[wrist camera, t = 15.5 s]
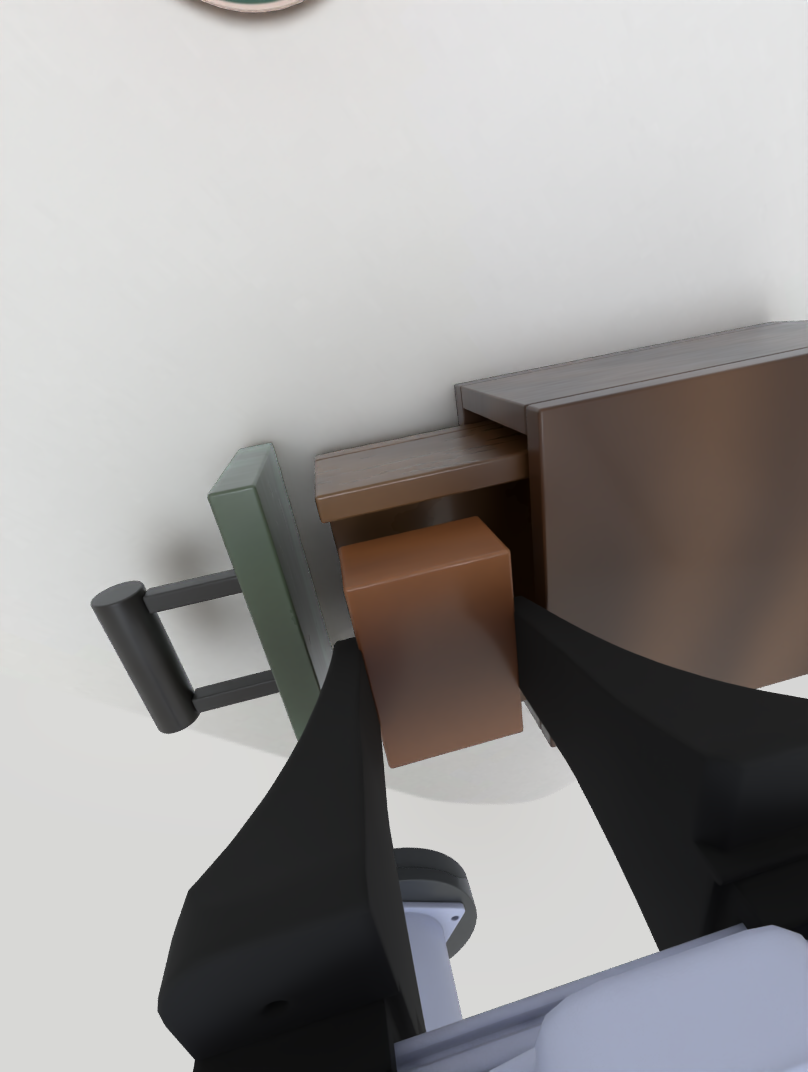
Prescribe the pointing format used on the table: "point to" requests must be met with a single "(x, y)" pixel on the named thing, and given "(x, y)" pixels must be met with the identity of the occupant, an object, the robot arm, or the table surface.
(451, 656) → the brown rectangular block
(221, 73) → the table surface
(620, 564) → the cabinet
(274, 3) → the red apple on plate
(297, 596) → the drawer
